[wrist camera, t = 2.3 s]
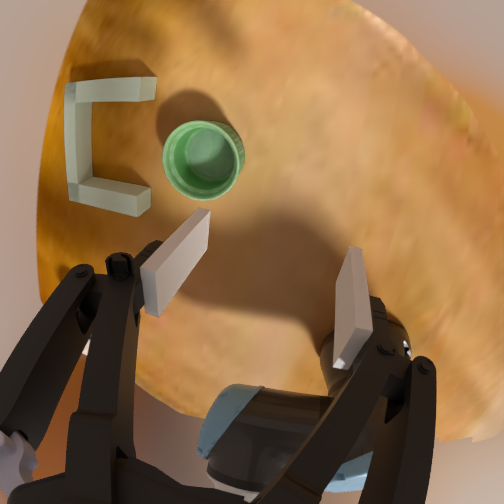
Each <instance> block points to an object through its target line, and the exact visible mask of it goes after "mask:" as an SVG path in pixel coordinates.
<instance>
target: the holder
mask: <svg viewBox="0 0 504 504" xmlns="http://www.w3.org/2000/svg"><path fill="white" fill-rule="evenodd" d="M156 83H157V77H124V78H109V79H97V80H87V81H79V82H72V83H65V98H64V140H65V160H66V173H67V184H68V193H69V200H70V201H74V202H78V203H82V204H86V205H90V206H94V207H98V208H102V209H106V210H110V211H114V212H118V213H122V214H126V215H130V216H134V217H139V216H140V215H141V214H142V213H144V212H145V211H146V210H148V209H149V208H150V207H151V187H147V186H142V185H136V184H131V183H126V182H120V181H115V180H109V179H104V178H98V177H93V167H92V102H111V101H133V102H140V101H147V100H155V92H156Z"/></svg>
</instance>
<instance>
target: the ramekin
mask: <svg viewBox="0 0 504 504" xmlns="http://www.w3.org/2000/svg"><path fill="white" fill-rule="evenodd" d="M244 160H245V150H244V146H243V143H242V140H241V138H240V137H239V135H238V134H237V133H236V132H235V131H234V130H233V129H232V128H231V127H229V126H227V125H226V124H224V123H221V122H217V121H204V120H194V121H189V122H186V123H184V124H182V125H180V126H178V127H177V128H176V129H174V130H173V131H172V133H171V134H170V135H169V136H168V138H167V140H166V142H165V145H164V148H163V153H162V162H163V168H164V171H165V174H166V176H167V178H168V180H169V181H170V183H171V184H172V186H173V187H174V188H175V189H176V190H177V191H179V192H180V193H181V194H183V195H184V196H186V197H189V198H191V199H194V200H200V201H208V200H213V199H216V198H219V197H220V196H222V195H224V194H225V193H227V192H228V191H229V190H230V189H231V188H232V186H233V185H234V183H235V182H236V180H237V178H238V175H239V173H240V171H241V170H242V167H243V164H244Z"/></svg>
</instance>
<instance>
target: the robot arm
mask: <svg viewBox="0 0 504 504" xmlns="http://www.w3.org/2000/svg"><path fill="white" fill-rule="evenodd" d="M210 212H211V210H207V209H203V208H198V209H197V210H196V211H195V212H194V213H193V214H192V215H191V216H190V217H189V218H188V219H187V220H186V221H185V222H184V223H183V224H182V225H181V226H180V227H179V228H178V229H177V230H176V231H175V232H174V233H173V234H172V235H171V236H170V237H169V238H168V239H167V240H166V241H165V242H161V241H158V240H156V241H154V242H152V243H150V244H148V245H147V246H146V247H145V248H144V249H143V250H142V251H141V252H140V253H139V254H138V255H137V256H136V257H135V258H134V259H133V257H132V256H131V255H130V254H128V253H123V252H119V253H114V254H111V255H110V256H108V257H107V259H106V260H105V262H106V268H107V274H108V275H105V274H95V273H94V268H93V267H92V266H91V265H88V264H80V265H77V266H75V267H73V268H72V269H71V270H70V271H69V272H68V274H67V275H66V276H65V278H64V279H63V280H62V281H61V283H60V284H59V285H58V286H57V288H56V289H55V290H54V292H53V293H52V294H51V296H50V297H49V298H48V300H47V301H46V303H45V304H44V305H43V307H42V308H41V310H40V311H39V312H38V314H37V315H36V317H35V318H34V319H33V321H32V322H31V324H30V325H29V327H28V328H27V330H26V331H25V333H24V334H23V336H22V337H21V339H20V341H19V342H18V344H17V345H16V347H15V349H14V350H13V352H12V353H11V355H10V357H9V358H8V360H7V362H6V364H5V365H4V367H3V369H2V371H1V372H0V488H1V489H2V491H3V492H4V493H5V494H6V496H7V497H8V501H7V504H319V502H320V501H321V499H322V493H323V492H324V491H328V492H349V491H356V490H362V494H361V497H360V500H359V503H358V504H425V500H426V495H427V490H428V485H429V479H430V472H431V465H432V457H433V448H434V438H435V423H436V368H435V365H434V364H433V362H432V361H431V360H430V359H428V358H426V357H425V356H417V357H415V358H414V359H413V361H411V360H410V359H411V345H410V340H409V337H408V334H407V333H406V331H405V330H404V329H403V328H402V327H401V326H399V325H398V324H396V323H394V322H391V321H388V320H387V316H386V310H385V305H384V304H383V302H382V301H381V299H380V298H377V297H373V296H369V292H368V285H367V278H366V271H365V265H364V259H363V253H362V249H361V248H357V247H354V246H349V249H348V251H347V254H346V257H345V259H344V262H343V265H342V267H341V270H340V273H339V275H338V278H337V280H336V296H335V330H334V331H333V332H331V333H330V334H329V335H328V336H327V337H326V339H325V340H324V342H323V344H322V347H321V355H320V365H321V369H322V372H323V376H324V379H325V382H326V385H327V388H328V397H327V396H319V395H311V394H303V393H296V392H289V391H283V390H276V389H270V388H265V387H264V386H259V387H257V386H250V385H243V384H232V385H229V386H228V387H226V388H225V389H224V390H223V391H222V392H221V393H220V394H219V395H218V397H217V398H216V399H215V401H214V403H213V404H212V406H211V408H210V410H209V412H208V414H207V416H206V418H205V420H204V423H203V425H202V428H201V431H200V434H199V438H198V442H197V445H198V447H197V453H198V455H199V456H201V457H202V458H203V459H205V460H206V459H208V460H209V462H208V467H207V471H206V472H207V476H208V477H209V478H210V479H211V481H212V482H213V483H214V484H215V488H202V487H193V486H185V485H182V484H180V483H178V482H177V481H175V480H174V479H172V478H171V477H169V476H168V475H166V474H165V473H163V472H162V471H160V470H159V469H158V468H156V467H154V466H152V465H150V464H147V463H145V462H143V461H141V460H139V459H136V452H135V447H134V443H133V412H134V411H133V410H134V385H135V370H136V356H137V345H138V335H139V325H140V317H141V316H140V309H141V308H142V306H143V305H144V307H145V313H148V314H150V315H153V316H156V317H158V318H159V317H160V315H161V314H162V312H163V311H164V310H165V308H166V307H167V305H168V304H169V302H170V301H171V299H172V298H173V297H174V295H175V294H176V292H177V291H178V289H179V288H180V287H181V285H182V284H183V282H184V281H185V279H186V278H187V277H188V275H189V274H190V272H191V271H192V270H193V268H194V267H195V265H196V264H197V263H198V261H199V260H200V258H201V257H202V256H203V254H204V253H205V252H206V250H207V248H208V235H209V223H210ZM90 336H91V340H90V344H89V349H88V353H87V358H86V363H85V369H84V375H83V380H82V385H81V393H80V399H79V406H78V410H77V411H76V412H74V413H72V415H71V417H70V421H69V429H68V438H67V450H66V466H65V472H64V473H60V474H57V475H54V476H50V477H47V478H43V479H40V480H36V481H33V477H32V471H33V469H36V468H37V467H38V460H37V458H36V454H35V451H36V450H37V448H38V446H39V445H40V443H41V441H42V440H43V438H44V436H45V433H46V431H47V429H48V426H49V424H50V421H51V419H52V417H53V414H54V412H55V409H56V407H57V405H58V402H59V400H60V398H61V396H62V393H63V391H64V389H65V387H66V385H67V383H68V380H69V378H70V376H71V374H72V372H73V370H74V368H75V366H76V364H77V362H78V360H79V358H80V356H81V354H82V352H83V350H84V348H85V346H86V344H87V342H88V340H89V338H90Z"/></svg>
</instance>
